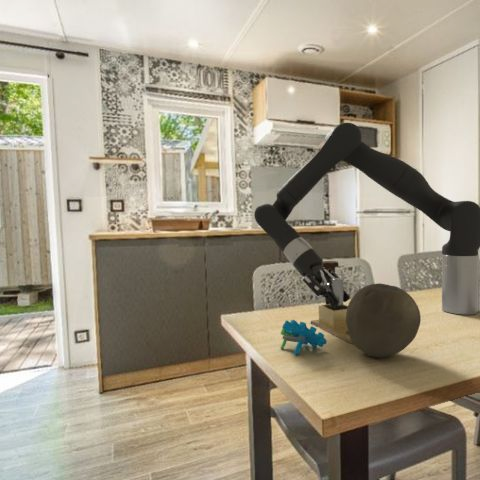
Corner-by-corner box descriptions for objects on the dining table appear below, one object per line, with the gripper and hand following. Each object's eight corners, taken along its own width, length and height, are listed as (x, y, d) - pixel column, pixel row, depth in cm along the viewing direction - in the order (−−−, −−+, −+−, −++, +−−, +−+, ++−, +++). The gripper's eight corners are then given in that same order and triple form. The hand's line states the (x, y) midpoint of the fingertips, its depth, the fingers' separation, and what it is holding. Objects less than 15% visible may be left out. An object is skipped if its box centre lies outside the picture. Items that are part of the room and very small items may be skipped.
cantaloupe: (382, 374, 64) (381, 294, 63) (332, 349, 77) (331, 282, 76) (435, 360, 70) (435, 286, 69) (380, 339, 83) (380, 277, 82)
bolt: (341, 305, 116) (340, 261, 115) (336, 309, 112) (336, 262, 111) (324, 304, 119) (323, 260, 119) (319, 307, 115) (318, 262, 114)
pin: (337, 320, 96) (337, 277, 96) (346, 324, 93) (346, 279, 93) (326, 322, 95) (326, 278, 95) (334, 325, 92) (334, 280, 91)
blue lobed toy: (335, 344, 76) (311, 318, 72) (327, 369, 73) (301, 343, 69) (296, 339, 84) (273, 315, 80) (287, 361, 81) (262, 338, 77)
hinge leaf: (346, 318, 101) (346, 300, 101) (393, 336, 84) (393, 315, 84) (310, 323, 97) (310, 304, 97) (352, 344, 80) (352, 321, 80)
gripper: (297, 249, 92) (340, 298, 85) (322, 245, 103) (362, 289, 96) (281, 268, 96) (321, 316, 89) (307, 262, 107) (344, 305, 100)
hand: (342, 302), depth 93 cm, fingers open, 6 cm apart
